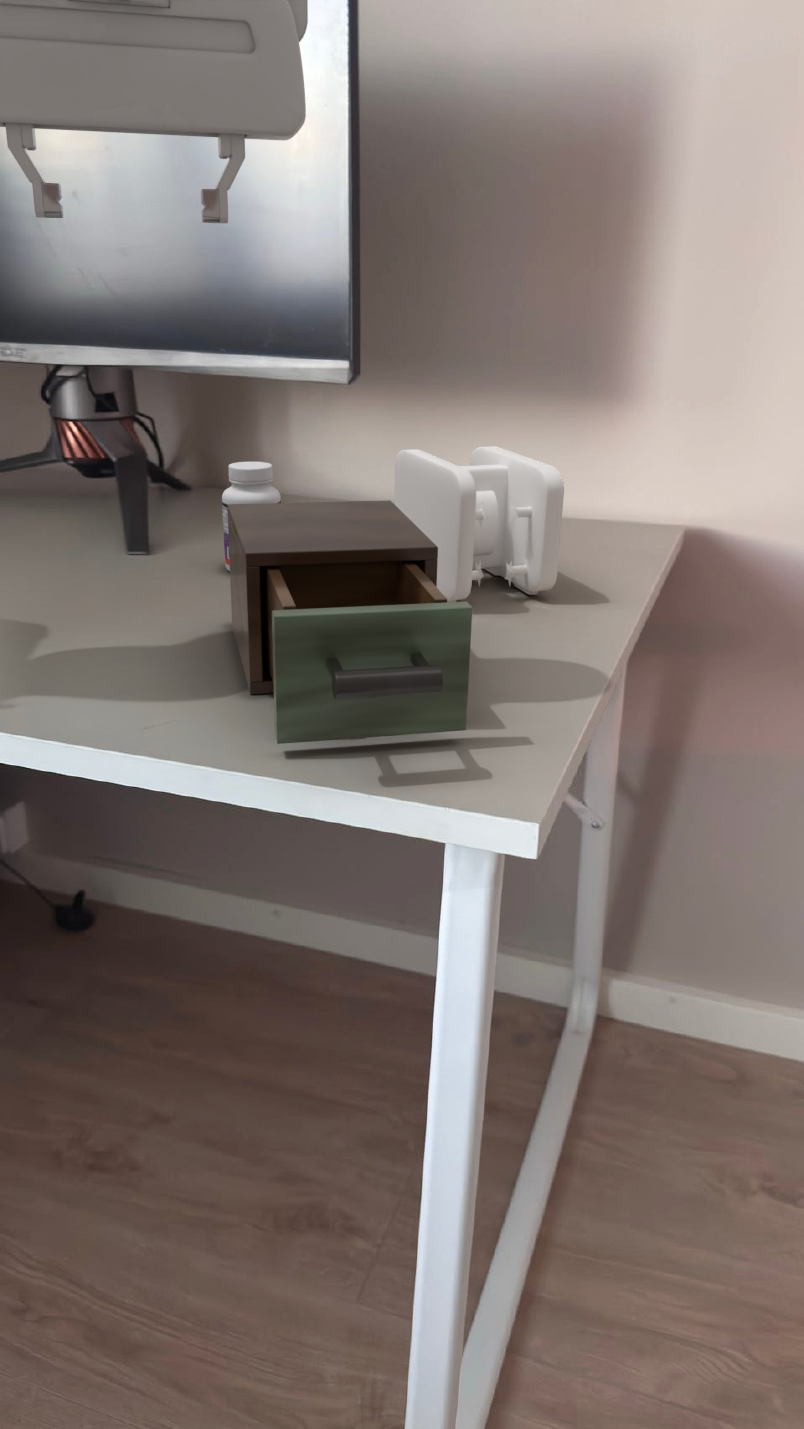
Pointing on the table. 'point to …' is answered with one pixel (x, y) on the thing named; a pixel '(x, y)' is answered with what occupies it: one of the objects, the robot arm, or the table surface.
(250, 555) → the cabinet
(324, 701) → the drawer
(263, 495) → the pill bottle
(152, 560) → the table surface
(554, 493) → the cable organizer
